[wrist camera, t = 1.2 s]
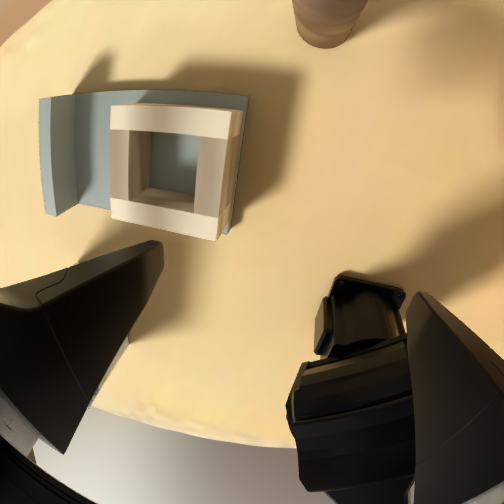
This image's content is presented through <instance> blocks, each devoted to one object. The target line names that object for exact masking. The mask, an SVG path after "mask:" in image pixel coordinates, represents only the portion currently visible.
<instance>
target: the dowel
mask: <svg viewBox="0 0 504 504" xmlns="http://www.w3.org/2000/svg"><path fill="white" fill-rule="evenodd" d="M367 1H368V0H292V3H293V8H294V14H295V19H296V25H297V30H298V33H299V34H300V36H301V37H302V39H303V40H304V41H306V42H307V43H308V44H310V45H312V46H314V47H318V48H323V49H328V48H334V47H337V46H339V45H340V44H342V43H343V42H344V41H345V39H346V38H347V36H348V34H349V33H350V31H351V29H352V27H353V25H354V24H355V22H356V20H357V18H358V17H359V15H360V13H361V11H362V10H363V8H364V6H365V4H366V3H367Z"/></svg>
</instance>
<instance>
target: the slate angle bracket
mask: <svg viewBox="0 0 504 504" xmlns="http://www.w3.org/2000/svg"><path fill="white" fill-rule="evenodd" d="M248 100H249V96H241V95H233V94H223V93H212V92H198V91H179V90H123V91H104V92H91V93H81V94H72V95H63V96H56V97H49V98H43V99H39V155H40V170H41V181H42V191H43V199H44V207H45V213H46V214H49V215H53V216H58V215H60V214H61V213H63V212H65V211H66V210H68V209H70V208H71V207H73V206H75V205H76V204H83V205H88V206H93V207H98V208H103V209H107V210H111V203H110V177H109V141H110V116H111V106H112V105H121V104H132V103H156V104H179V105H194V106H206V107H216V108H225V109H234V110H241V111H243V116H242V123H241V130H240V137H239V144H238V151H237V158H236V166H235V173H234V181H233V188H232V196H231V204H230V212H229V220H228V224H227V225H226V227H225V228H224V230H223V231H222V234H226V235H227V234H228V232H229V231H230V229H231V221H232V213H233V205H234V198H235V190H236V183H237V175H238V168H239V161H240V154H241V147H242V140H243V133H244V126H245V119H246V113H247V106H248ZM199 143H200V136H195V135H186V134H176V133H165V132H152V140H151V160H150V188H155V189H161V190H167V191H173V192H178V193H184V194H190V195H195V187H196V175H197V164H198V153H199Z"/></svg>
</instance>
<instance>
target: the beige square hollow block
mask: <svg viewBox="0 0 504 504" xmlns="http://www.w3.org/2000/svg"><path fill="white" fill-rule="evenodd" d="M242 116H243V111H241V110H234V109H225V108H216V107H206V106H194V105H179V104H156V103H132V104H121V105H112V106H111V116H110V141H109V177H110V203H111V218H112V219H116V220H121V221H125V222H130V223H135V224H139V225H144V226H148V227H153V228H157V229H162V230H166V231H171V232H175V233H180V234H184V235H189V236H193V237H198V238H202V239H207V240H211V241H217V239H218V238H219V236H220V235H221V233H222V231H223V230H224V228H225V227H226V225H227V224H228V220H229V212H230V204H231V196H232V188H233V181H234V173H235V166H236V158H237V151H238V144H239V137H240V130H241V123H242ZM152 132H165V133H176V134H186V135H195V136H200V143H199V153H198V164H197V175H196V187H195V195H190V194H184V193H178V192H173V191H167V190H161V189H155V188H150V160H151V140H152Z"/></svg>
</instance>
